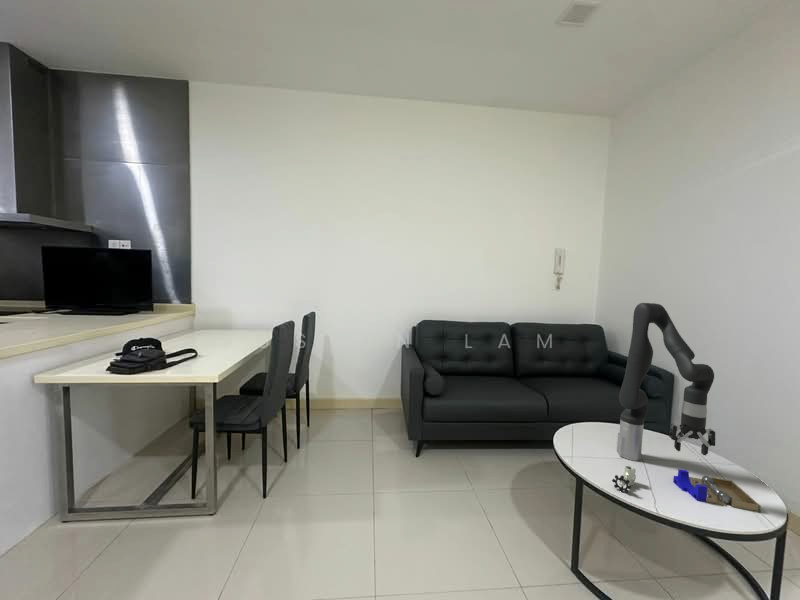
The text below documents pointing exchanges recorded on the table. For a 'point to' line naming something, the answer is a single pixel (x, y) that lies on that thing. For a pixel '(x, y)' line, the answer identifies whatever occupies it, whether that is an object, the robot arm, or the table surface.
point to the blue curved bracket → (690, 486)
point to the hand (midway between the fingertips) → (690, 452)
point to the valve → (626, 479)
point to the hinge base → (726, 493)
